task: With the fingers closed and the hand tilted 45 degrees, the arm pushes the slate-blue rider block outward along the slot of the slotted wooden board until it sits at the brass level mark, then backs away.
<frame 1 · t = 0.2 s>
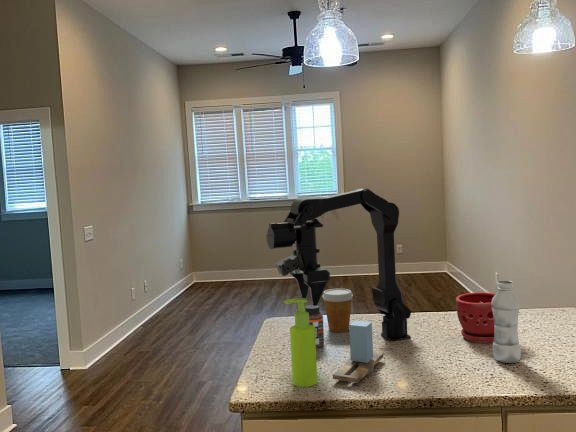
hand: (309, 301, 142), 14 cm above the worktop, tool pointing down, fingers open, 9 cm apart
soap dispenser: (302, 382, 123), on the worktop
plant pot: (481, 338, 148), on the worktop
plastic bottle: (506, 362, 130), on the worktop
supplement bottle: (313, 345, 149), on the worktop
rider: (361, 343, 129), point 6 cm above the worktop, slide at 0.0 cm
slotted wooden board: (359, 371, 128), on the worktop
disposable coffee cup: (339, 329, 163), on the worktop
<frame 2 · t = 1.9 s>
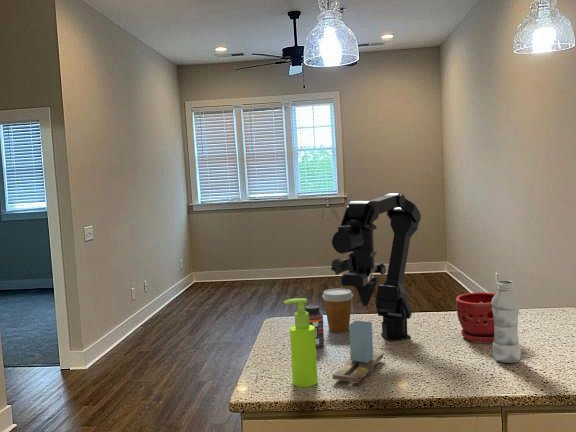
hand: (365, 305, 139), 13 cm above the worktop, tool pointing down, fingers closed
nothing on the worktop moved.
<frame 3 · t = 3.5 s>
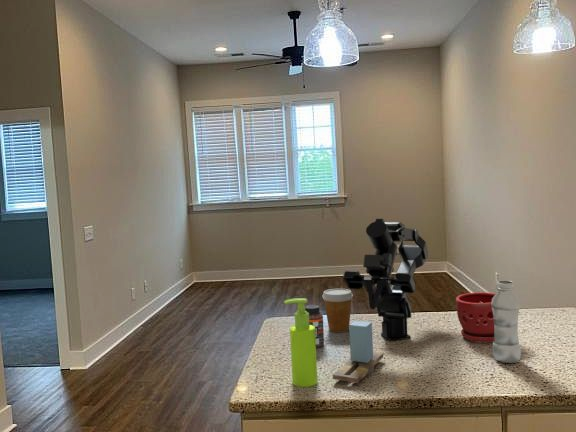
hand: (371, 308, 136), 13 cm above the worktop, tool tilted 45°, fingers closed
nothing on the worktop moved.
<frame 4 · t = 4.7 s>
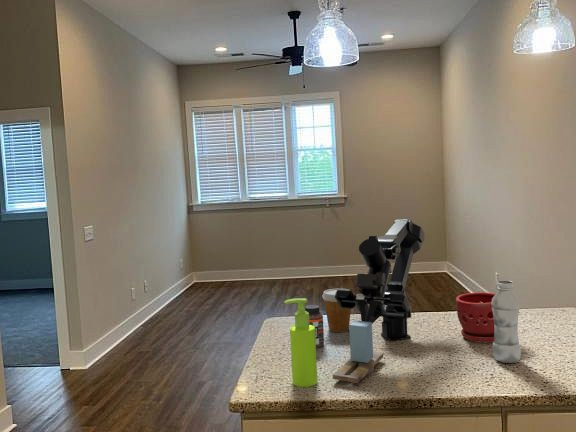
hand: (364, 329, 131), 9 cm above the worktop, tool tilted 45°, fingers closed, pressing on rider
rider: (361, 343, 129), point 6 cm above the worktop, slide at 0.0 cm, touching gripper
everything else where it was.
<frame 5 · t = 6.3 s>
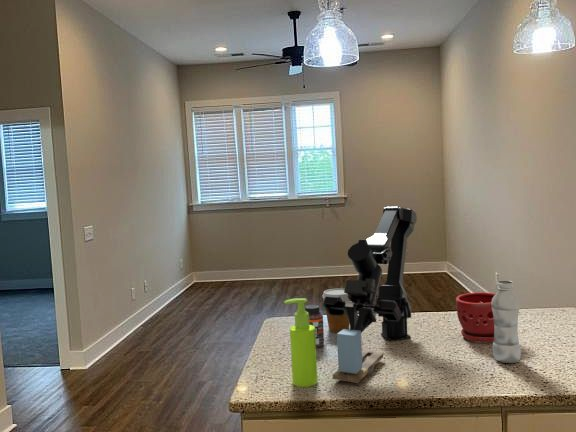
hand: (353, 338, 124), 9 cm above the worktop, tool tilted 45°, fingers closed, pressing on rider
rider: (349, 353, 122), point 6 cm above the worktop, slide at 7.5 cm, touching gripper
everything else where it was.
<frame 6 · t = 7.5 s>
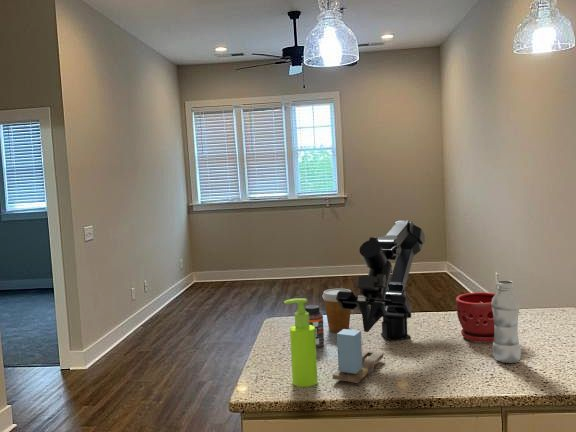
hand: (365, 331, 132), 9 cm above the worktop, tool tilted 45°, fingers closed
rider: (349, 353, 122), point 6 cm above the worktop, slide at 7.5 cm
everything else where it was.
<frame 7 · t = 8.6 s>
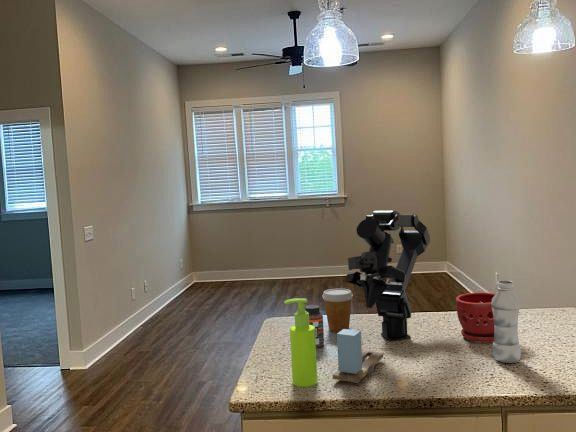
hand: (368, 307, 138), 13 cm above the worktop, tool tilted 30°, fingers closed
nothing on the worktop moved.
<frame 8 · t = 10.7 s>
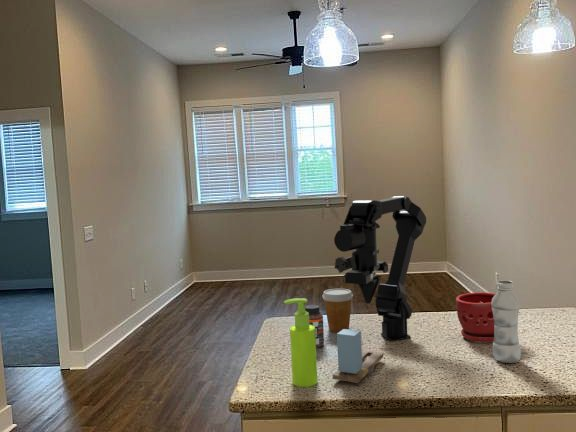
hand: (368, 303, 142), 13 cm above the worktop, tool pointing down, fingers closed
nothing on the worktop moved.
at the end: rider slide at 7.5 cm; rider moved 7.5 cm from its start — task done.
